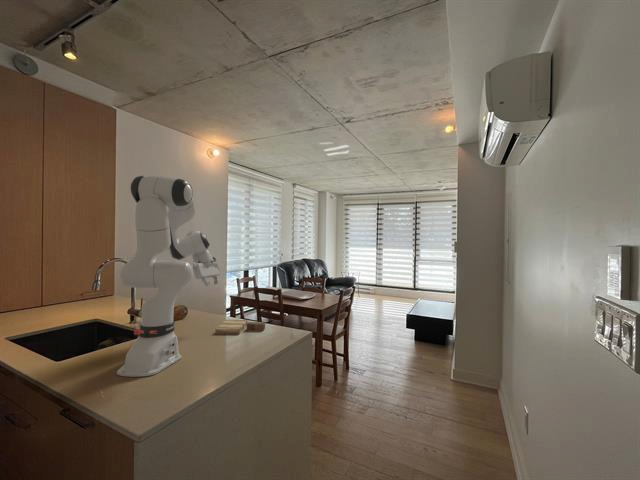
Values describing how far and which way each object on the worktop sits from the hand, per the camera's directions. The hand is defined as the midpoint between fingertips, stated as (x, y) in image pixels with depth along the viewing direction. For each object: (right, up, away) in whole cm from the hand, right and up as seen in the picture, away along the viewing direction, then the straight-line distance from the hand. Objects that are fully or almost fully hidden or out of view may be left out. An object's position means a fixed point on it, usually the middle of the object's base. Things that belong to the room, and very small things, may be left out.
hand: (212, 285), depth 152 cm
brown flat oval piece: (-28, -23, +15) cm, 39 cm away
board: (+10, -23, 0) cm, 25 cm away
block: (+18, -22, 0) cm, 28 cm away
